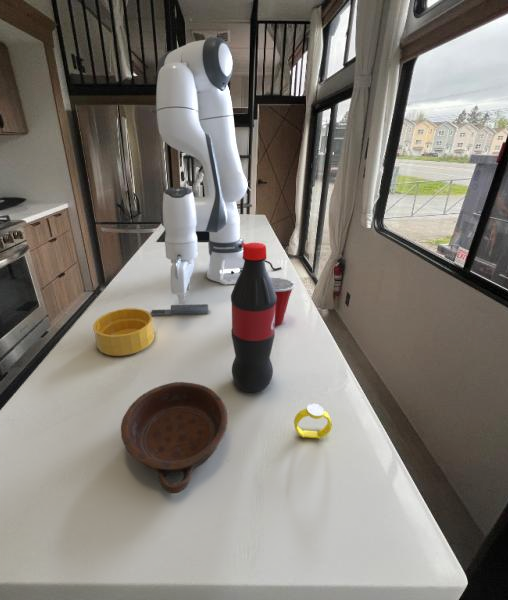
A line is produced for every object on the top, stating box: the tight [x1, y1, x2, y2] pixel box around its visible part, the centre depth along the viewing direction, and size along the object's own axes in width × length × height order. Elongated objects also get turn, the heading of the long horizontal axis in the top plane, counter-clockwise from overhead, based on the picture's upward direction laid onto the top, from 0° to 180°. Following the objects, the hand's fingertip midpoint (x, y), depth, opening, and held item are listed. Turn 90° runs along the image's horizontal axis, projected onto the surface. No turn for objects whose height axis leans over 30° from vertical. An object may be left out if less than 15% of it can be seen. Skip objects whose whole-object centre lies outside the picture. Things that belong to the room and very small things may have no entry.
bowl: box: [92, 307, 155, 357], centre depth 82 cm, size 14×14×6 cm
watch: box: [293, 403, 333, 440], centre depth 54 cm, size 6×3×6 cm, turn 87°
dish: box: [120, 381, 229, 495], centre depth 55 cm, size 18×22×5 cm
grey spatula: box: [150, 303, 209, 317], centre depth 97 cm, size 17×3×2 cm, turn 90°
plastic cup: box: [270, 276, 295, 327], centre depth 89 cm, size 11×11×12 cm
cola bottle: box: [230, 242, 277, 393], centre depth 62 cm, size 8×8×30 cm
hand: (184, 295), depth 95 cm, fingers open, 8 cm apart
